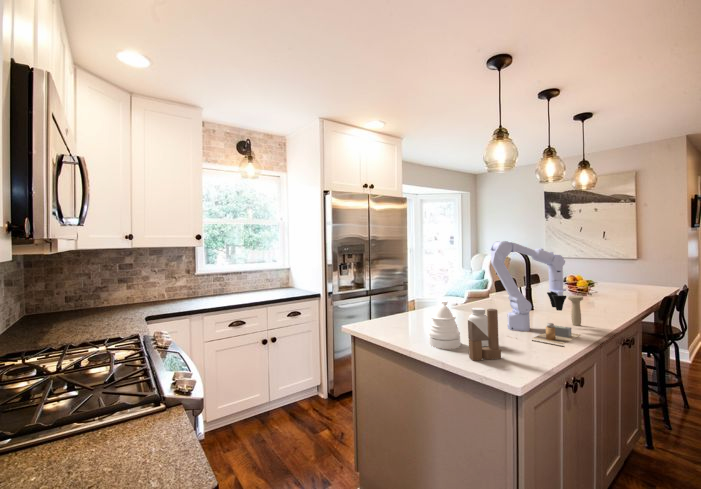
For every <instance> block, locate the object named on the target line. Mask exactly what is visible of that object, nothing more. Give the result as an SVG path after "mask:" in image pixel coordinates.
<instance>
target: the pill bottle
mask: <svg viewBox="0 0 701 489" xmlns="http://www.w3.org/2000/svg"><path fill="white" fill-rule="evenodd" d="M468 320H469V321H471V322H473V323H474V324H475V325H476V326H477V327H478V328H479V329H480V330H481V331H482V332H483V333H484V334H485V335H487V336H488V323H487V314H486V309H485V308H484V307H472V308H471V314H470V315H469V316H468ZM483 347H488V340H485V341H482V348H483Z"/></svg>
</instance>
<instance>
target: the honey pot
mask: <svg viewBox="0 0 701 489" xmlns="http://www.w3.org/2000/svg"><path fill="white" fill-rule="evenodd" d="M440 303H441V305H440V306H439V307H438V308H437V309H436V311H435V313H434V314H433V315H431V316H430V318H431V319H432V322H431V323H430V327H429V328H430V329H429V330H428V343H429V344H430V345H431V346H430V345H429V344H428V345H429V346H430V347H432V346H433V347H432V348H435V347H436V348H435V349H440V348H442V349H441V350H454V349H457V347H458V348H460V347H461V332H460V331H459V327H458V324H457V322H456V316H455V315H453V313H452V311H451V309H449V308H448V307H449V306H447V305H448V301H447V300H441V302H440ZM459 346H460V347H459ZM451 348H452V349H451ZM453 348H454V349H453Z"/></svg>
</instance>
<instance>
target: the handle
mask: <svg viewBox="0 0 701 489" xmlns="http://www.w3.org/2000/svg"><path fill="white" fill-rule="evenodd" d="M567 298H568V300H569V301H570V302H571V324H572V326H575V327H581V326H582V310H581V302H582V301H583V300H584V296H581V295H570V296H569V295H568V297H567Z"/></svg>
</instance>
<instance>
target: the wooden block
mask: <svg viewBox="0 0 701 489" xmlns="http://www.w3.org/2000/svg"><path fill="white" fill-rule="evenodd" d="M498 311H499V310H498V309H497V308H487V309H486V316H487V323H488V336H487V335H485V334H484V333H483V332H482V331H481V330H480V329H479V328H478V327H477V326H476V325H475V324H474V323H473V322H471V321H469V319H467V336H468V355H469V356H468V357H469V358H468V359H470V360H472V362H473V361H474V362H476V361H478V362H479V361H483V360H485V361H486V360H487V361H489V360H490V361H491V360H501V359H502V350H501V348H500V344H499V343H500V342H499V341H500V340H499V339H500V338H499V315H498V314H499V313H498ZM485 340H488V346H483V347H482V341H485Z"/></svg>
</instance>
